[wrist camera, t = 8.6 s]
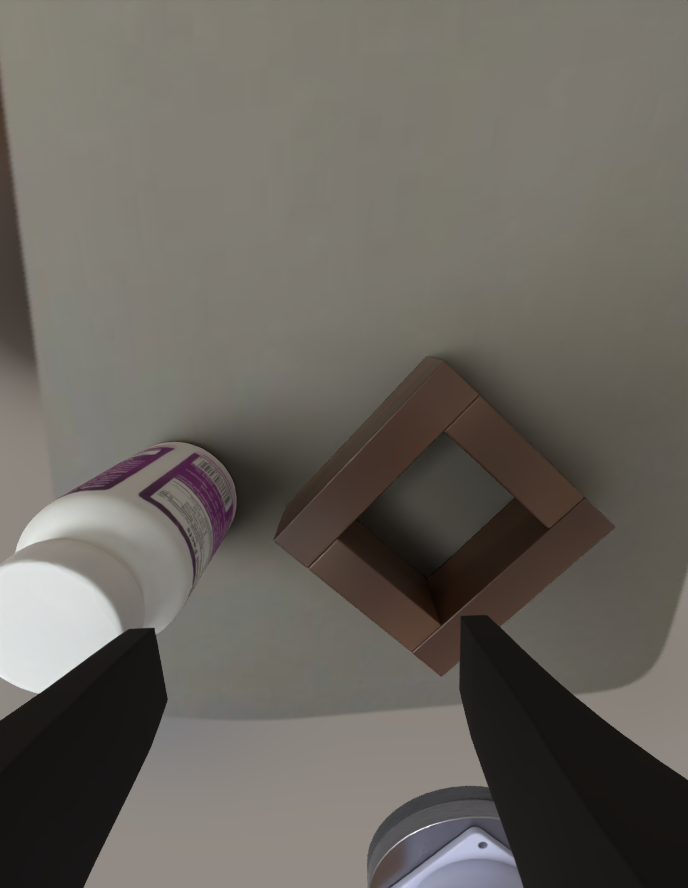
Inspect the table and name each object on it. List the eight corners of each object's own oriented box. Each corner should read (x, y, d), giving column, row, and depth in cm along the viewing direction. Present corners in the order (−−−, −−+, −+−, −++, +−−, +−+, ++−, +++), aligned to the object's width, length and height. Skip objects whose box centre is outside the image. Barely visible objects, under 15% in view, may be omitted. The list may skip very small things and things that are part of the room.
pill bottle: (123, 536, 21) (-64, 703, 11) (128, 430, 19) (-77, 518, 10) (234, 554, 21) (142, 733, 11) (247, 450, 20) (154, 555, 10)
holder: (570, 494, 20) (615, 527, 17) (426, 624, 22) (441, 677, 18) (426, 355, 18) (444, 360, 15) (285, 506, 20) (272, 541, 17)
